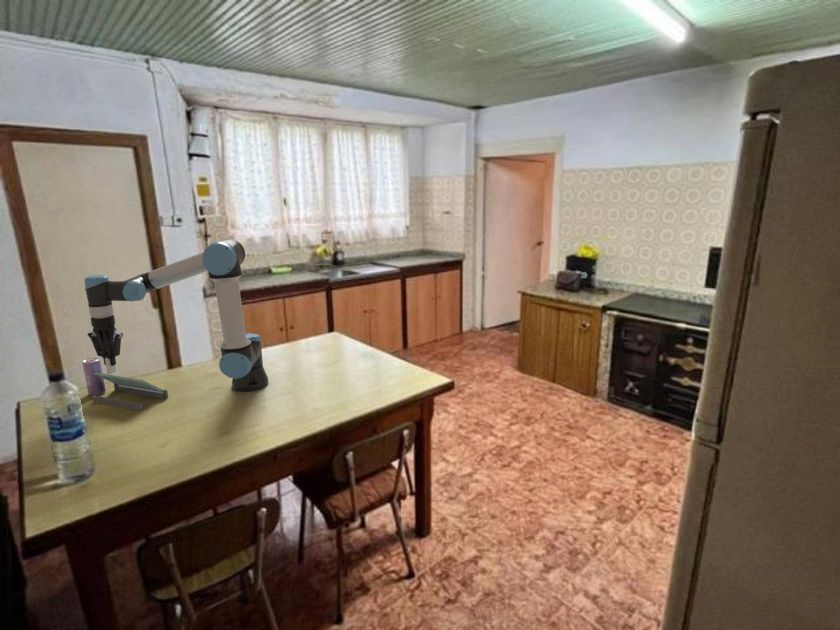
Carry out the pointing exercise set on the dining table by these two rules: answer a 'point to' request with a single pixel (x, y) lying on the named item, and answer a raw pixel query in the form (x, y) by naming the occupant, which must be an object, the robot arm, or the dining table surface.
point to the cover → (129, 382)
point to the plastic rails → (130, 390)
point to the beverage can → (93, 377)
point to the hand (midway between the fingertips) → (111, 372)
